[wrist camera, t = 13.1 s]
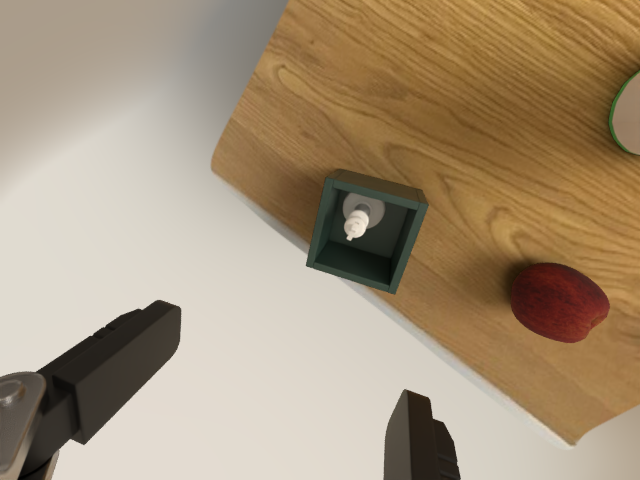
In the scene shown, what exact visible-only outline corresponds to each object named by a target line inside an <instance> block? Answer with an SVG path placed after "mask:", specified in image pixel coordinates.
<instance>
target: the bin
mask: <svg viewBox="0 0 640 480" xmlns="http://www.w3.org/2000/svg"><path fill="white" fill-rule="evenodd" d="M349 192H351V193H355V194H358V195H362V196H366V197H369V198H373V199H377V200H380V201H384V202H385V213H384V216H383V218H382V219H381V221H380V222H379V223H378V224H377V225H375V226H373V227H371V228H368V229H366V230H365V232H364V234H363V235H362V236H360V237H357V238H354V237H353V238H352V240H351V241H350V240H348V239H347V237H348V235H347V233H346V232H345V230H344V224H345V222H346V218H345V217H344V214H343V202H344V199H345V197H346V196H347V195H348V193H349ZM428 206H429V204H428V202H427V200H426V198H425V195H424V193H423V191H422V190H420V189H416V188H413V187H409V186H405V185H401V184H397V183H394V182H390V181H386V180H382V179H378V178H375V177H371V176H367V175H363V174H359V173H356V172H352V171H348V170H344V169H339V170H337V171H335V172H334V173H332V174H330V175H329V176H327V177H326V178H325V183H324V187H323V192H322V196H321V200H320V205H319V209H318V214H317V218H316V222H315V227H314V231H313V236H312V240H311V245H310V249H309V253H308V258H307V262H306V266H307V267H310V268H314V269H316V270H319V271H323V272H326V273H329V274H332V275H335V276H338V277H341V278H345V279H348V280H351V281H354V282H357V283H360V284H363V285H366V286H370V287H373V288H376V289H379V290H382V291H385V292H388V293H391V294H396V291H397V288H398V286H399V283H400V280H401V278H402V275H403V272H404V270H405V267H406V264H407V262H408V259H409V256H410V254H411V251H412V248H413V246H414V243H415V240H416V238H417V235H418V232H419V230H420V227H421V224H422V222H423V219H424V216H425V214H426V211H427V208H428Z"/></svg>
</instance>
